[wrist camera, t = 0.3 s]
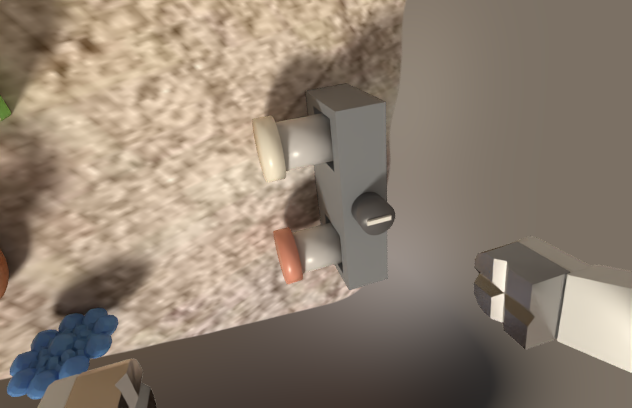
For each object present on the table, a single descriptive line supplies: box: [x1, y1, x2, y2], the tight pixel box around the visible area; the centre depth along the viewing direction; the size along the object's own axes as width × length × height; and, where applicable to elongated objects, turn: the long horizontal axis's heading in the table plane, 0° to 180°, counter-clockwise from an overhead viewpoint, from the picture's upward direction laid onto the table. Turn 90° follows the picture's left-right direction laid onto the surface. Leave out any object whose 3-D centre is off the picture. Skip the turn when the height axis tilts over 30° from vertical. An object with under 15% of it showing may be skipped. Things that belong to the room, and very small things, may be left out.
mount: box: [305, 84, 388, 290], centre depth 47 cm, size 24×6×11 cm, turn 6°
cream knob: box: [252, 113, 333, 183], centre depth 42 cm, size 7×8×7 cm
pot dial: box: [351, 192, 395, 235], centre depth 41 cm, size 4×4×3 cm
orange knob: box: [273, 223, 342, 284], centre depth 49 cm, size 7×8×7 cm
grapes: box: [7, 308, 118, 399], centre depth 46 cm, size 12×7×12 cm, turn 98°
